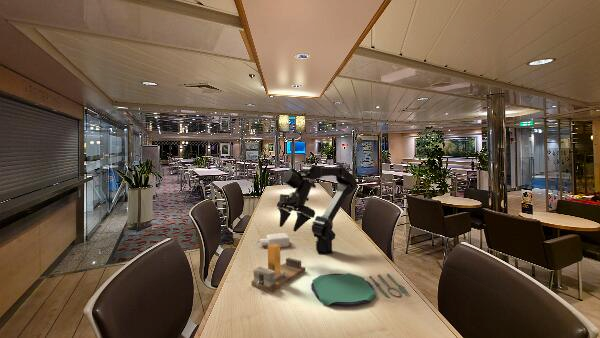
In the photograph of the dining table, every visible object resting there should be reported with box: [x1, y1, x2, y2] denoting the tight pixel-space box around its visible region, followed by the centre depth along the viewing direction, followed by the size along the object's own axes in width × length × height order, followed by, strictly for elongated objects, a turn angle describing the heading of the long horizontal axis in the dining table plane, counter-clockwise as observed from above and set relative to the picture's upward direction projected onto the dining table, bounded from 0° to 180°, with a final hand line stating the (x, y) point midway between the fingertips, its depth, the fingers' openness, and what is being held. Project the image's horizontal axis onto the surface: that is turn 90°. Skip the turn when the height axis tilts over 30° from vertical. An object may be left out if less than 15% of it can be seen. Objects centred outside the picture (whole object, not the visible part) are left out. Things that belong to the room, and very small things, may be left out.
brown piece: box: [251, 257, 306, 293], centre depth 97 cm, size 19×9×6 cm, turn 146°
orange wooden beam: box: [256, 244, 285, 286], centre depth 91 cm, size 11×5×11 cm, turn 145°
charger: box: [255, 232, 290, 248], centre depth 133 cm, size 5×9×15 cm
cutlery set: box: [310, 272, 412, 307], centre depth 88 cm, size 20×30×2 cm, turn 98°
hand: (287, 228), depth 109 cm, fingers open, 9 cm apart
